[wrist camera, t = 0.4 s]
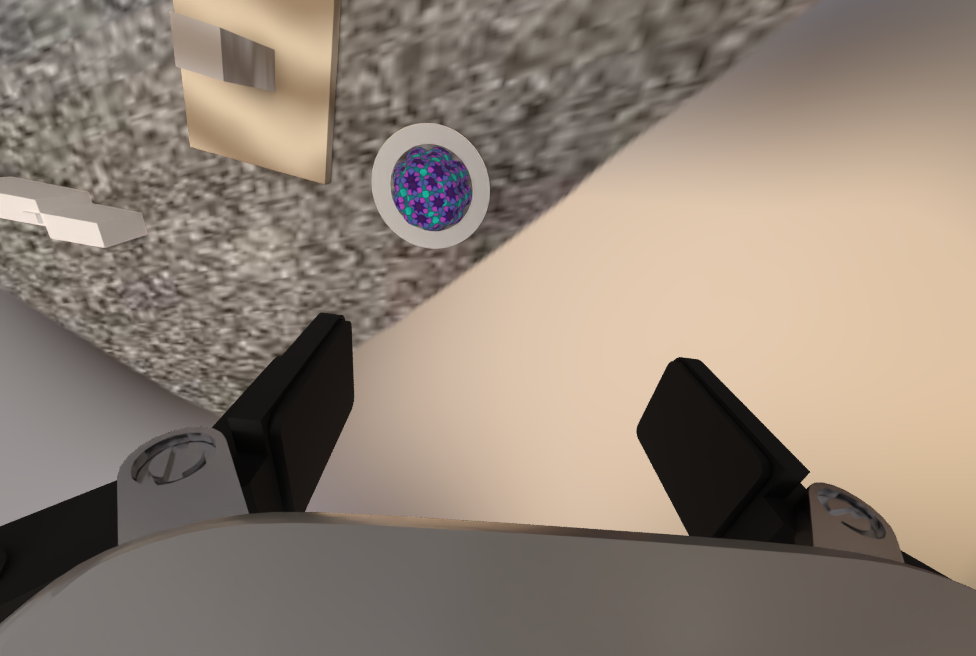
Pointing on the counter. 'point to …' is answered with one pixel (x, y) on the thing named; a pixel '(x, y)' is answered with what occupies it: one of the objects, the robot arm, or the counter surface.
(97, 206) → the white stepped block
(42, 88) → the counter surface
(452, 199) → the pudding
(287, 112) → the post stand
